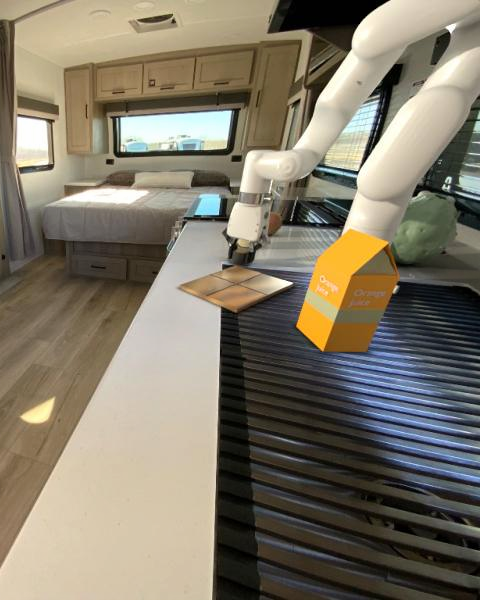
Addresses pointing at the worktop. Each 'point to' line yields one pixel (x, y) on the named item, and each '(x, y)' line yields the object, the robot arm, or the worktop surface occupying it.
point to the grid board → (236, 287)
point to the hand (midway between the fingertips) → (239, 260)
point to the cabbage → (425, 228)
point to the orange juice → (348, 293)
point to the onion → (274, 223)
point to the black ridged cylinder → (239, 256)
